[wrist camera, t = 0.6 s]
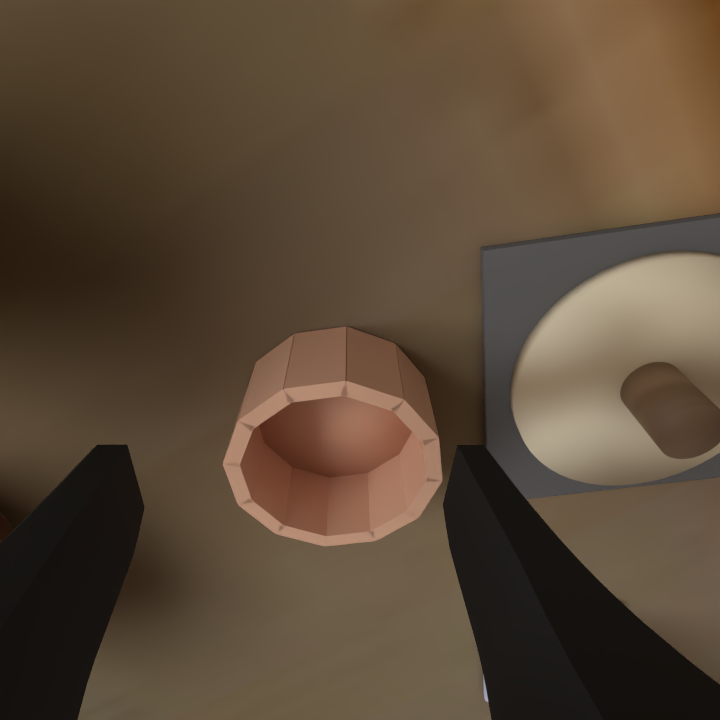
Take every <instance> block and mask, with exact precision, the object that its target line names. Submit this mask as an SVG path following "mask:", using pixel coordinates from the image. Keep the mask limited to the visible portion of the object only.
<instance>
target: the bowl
mask: <svg viewBox="0 0 720 720" xmlns="http://www.w3.org/2000/svg"><path fill="white" fill-rule="evenodd" d="M223 466H224V469H225V471H226V474H227V477H228V480H229V482H230V485H231V488H232V490H233V493H234V496H235V498H236V501H237V504H238V505H239V506H240V507H241V508H243V509H244V510H245V511H247V512H248V513H249V514H250V515H252V516H253V517H254V518H256V519H257V520H258V521H259V522H261V523H262V524H263V525H265V526H266V527H267V528H269V529H270V530H271V531H272V532H274V533H276V534H278V535H282V536H286V537H290V538H294V539H298V540H302V541H305V542H309V543H313V544H317V545H321V546H333V545H343V544H352V543H361V542H370V541H375V540H376V541H377V540H378V539H380V538H382V537H384V536H386V535H388V534H390V533H391V532H393V531H395V530H397V529H399V528H401V527H403V526H404V525H406V524H408V523H410V522H412V521H414V520H416V519H417V518H418V517H419V516H420V515H421V513H422V512H423V510H424V509H425V507H426V506H427V504H428V503H429V501H430V500H431V498H432V496H433V495H434V493H435V492H436V490H437V489H438V487H439V486H440V484H441V483H442V469H441V456H440V444H439V436H438V432H437V427H436V423H435V419H434V414H433V410H432V406H431V402H430V397H429V393H428V389H427V385H426V380H425V377H424V376H423V375H422V374H421V373H420V371H419V370H418V369H417V368H416V367H415V366H414V364H413V363H412V362H411V361H410V360H409V359H408V357H407V356H406V355H405V354H404V353H403V352H402V350H401V349H400V348H399V347H398V346H397V345H396V344H395V343H393V342H390V341H387V340H384V339H381V338H379V337H376V336H373V335H370V334H367V333H364V332H361V331H359V330H356V329H353V328H350V327H347V328H346V327H338V328H331V329H324V330H316V331H309V332H301V333H295V334H293V335H292V336H290V337H289V338H288V339H286V340H285V341H284V342H282V343H281V344H279V345H278V346H277V347H275V348H274V349H273V350H271V351H270V352H269V353H267V354H266V355H265V356H263V357H262V358H261V359H259V360H258V361H256V363H255V366H254V369H253V372H252V375H251V378H250V381H249V383H248V386H247V389H246V392H245V395H244V398H243V401H242V404H241V407H240V410H239V414H238V417H237V420H236V423H235V426H234V429H233V433H232V436H231V439H230V442H229V445H228V449H227V452H226V455H225V458H224V461H223Z"/></svg>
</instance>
